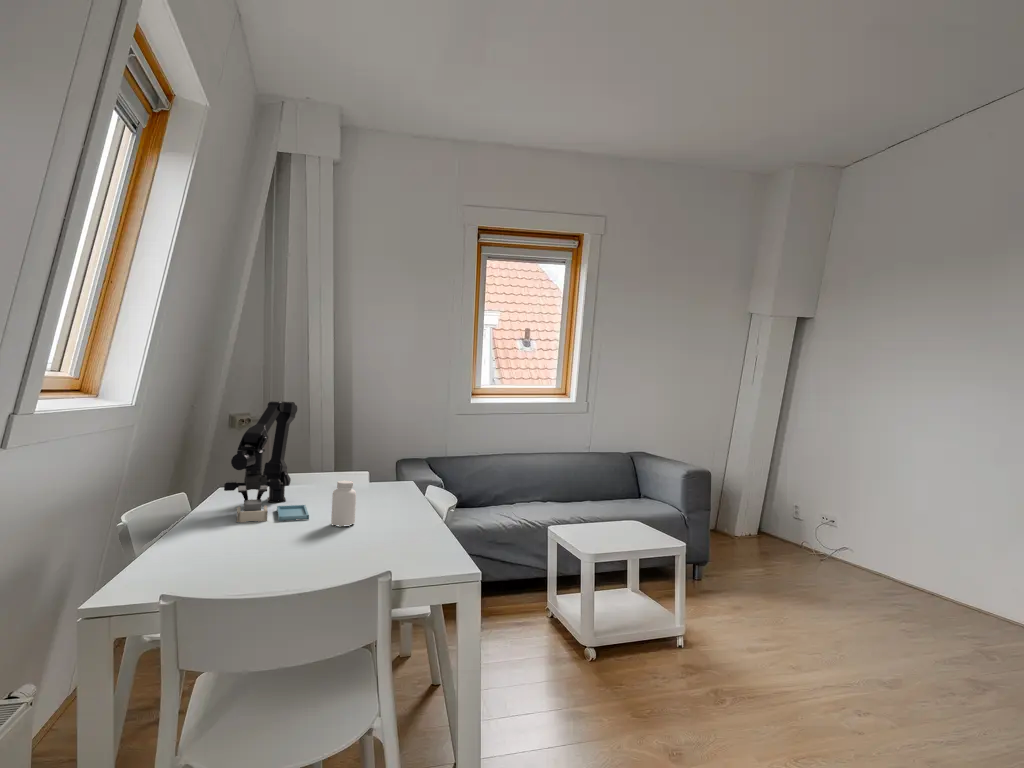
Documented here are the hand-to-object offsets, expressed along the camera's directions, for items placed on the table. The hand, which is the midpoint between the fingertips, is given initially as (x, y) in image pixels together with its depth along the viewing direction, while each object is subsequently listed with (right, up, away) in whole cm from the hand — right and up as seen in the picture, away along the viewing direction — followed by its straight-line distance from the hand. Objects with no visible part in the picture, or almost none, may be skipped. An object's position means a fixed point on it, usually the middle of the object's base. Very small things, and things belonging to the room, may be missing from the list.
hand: (252, 508), depth 216 cm
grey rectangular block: (+2, -2, -4) cm, 5 cm away
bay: (+4, -2, -8) cm, 9 cm away
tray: (+15, -2, -1) cm, 15 cm away
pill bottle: (+36, -4, -9) cm, 37 cm away
